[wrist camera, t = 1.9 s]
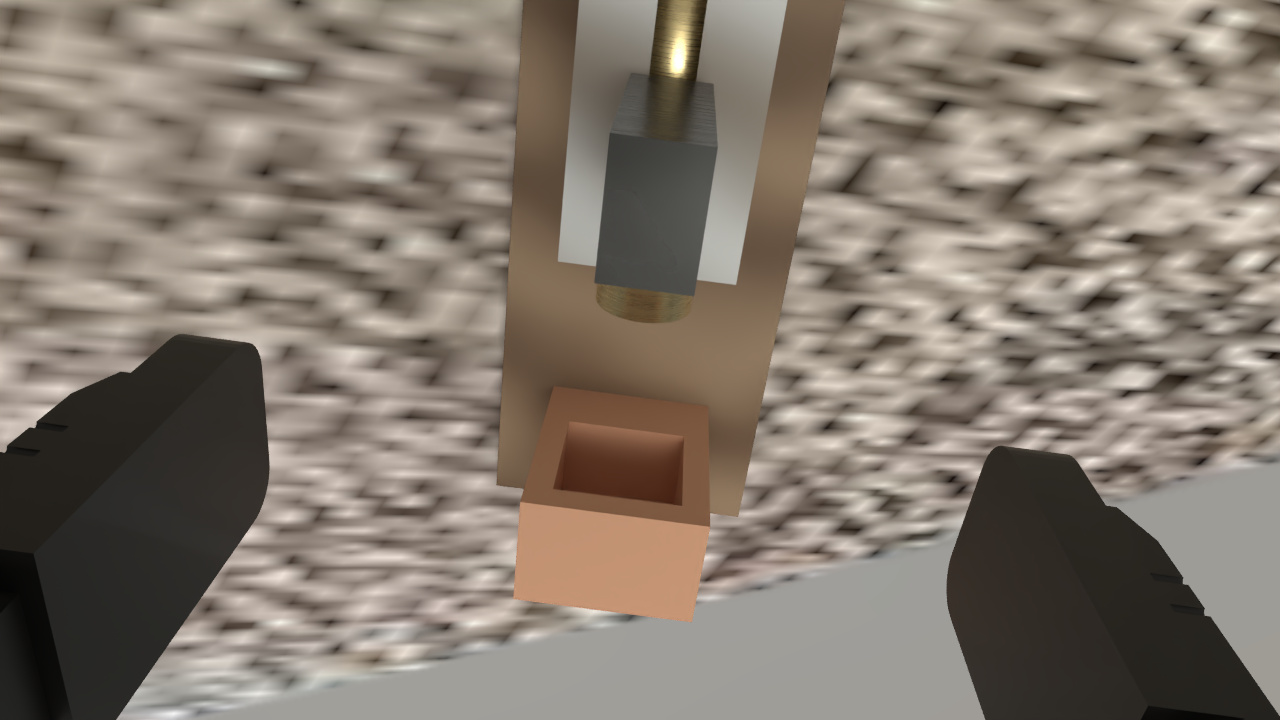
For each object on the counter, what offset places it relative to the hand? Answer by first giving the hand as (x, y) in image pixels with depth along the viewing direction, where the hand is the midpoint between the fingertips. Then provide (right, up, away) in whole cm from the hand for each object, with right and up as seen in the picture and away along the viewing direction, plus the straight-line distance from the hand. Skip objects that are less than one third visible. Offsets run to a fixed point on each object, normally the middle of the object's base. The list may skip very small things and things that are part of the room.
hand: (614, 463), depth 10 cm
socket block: (0, -2, +26) cm, 26 cm away
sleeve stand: (+1, +7, +23) cm, 24 cm away
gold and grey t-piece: (+1, +9, +17) cm, 19 cm away
